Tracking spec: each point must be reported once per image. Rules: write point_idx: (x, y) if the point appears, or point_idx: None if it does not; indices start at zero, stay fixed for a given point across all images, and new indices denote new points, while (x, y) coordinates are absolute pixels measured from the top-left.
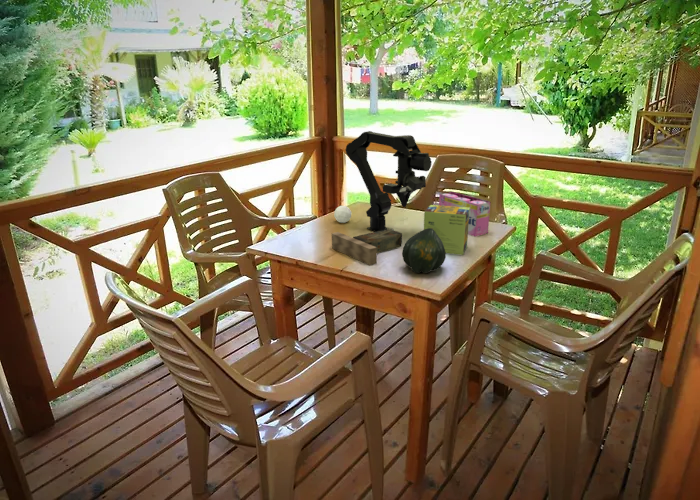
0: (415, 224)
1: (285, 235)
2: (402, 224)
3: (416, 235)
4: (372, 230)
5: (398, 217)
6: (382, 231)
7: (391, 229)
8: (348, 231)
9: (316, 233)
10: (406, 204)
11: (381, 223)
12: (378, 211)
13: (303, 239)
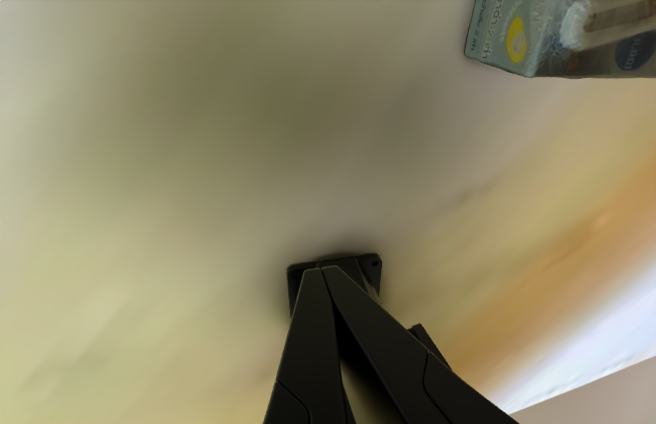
0: (35, 270)
1: (628, 360)
2: (135, 303)
3: None
4: (378, 282)
5: (84, 402)
6: (649, 47)
7: (595, 16)
8: (462, 319)
9: (559, 343)
10: (304, 292)
11: (362, 288)
12: (441, 359)
13: (643, 308)
